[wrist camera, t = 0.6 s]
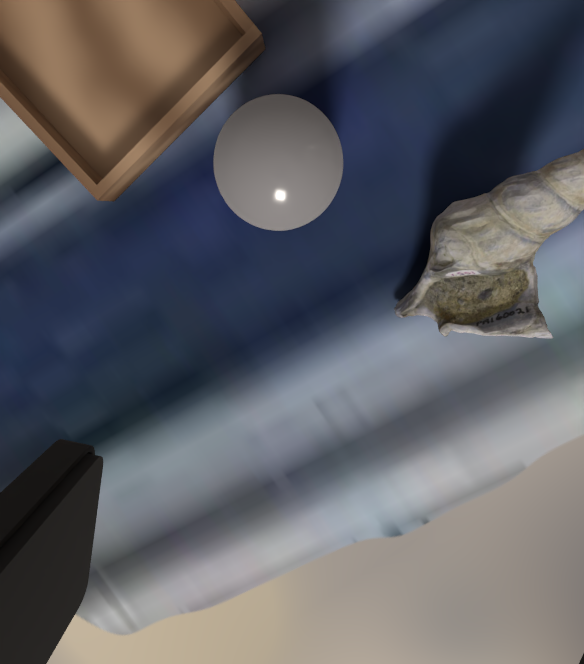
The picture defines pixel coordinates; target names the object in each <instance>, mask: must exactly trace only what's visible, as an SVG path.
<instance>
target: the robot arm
mask: <svg viewBox="0 0 584 664" xmlns="http://www.w3.org/2000/svg"><path fill="white" fill-rule="evenodd" d="M102 469H103V458H102V457H101V456H96V455H95V450H94V447H93V446H91V445H86V444H82V443H77V442H72V441H68V440H63V439H59V440H58V441H56V442H55V443H54V444H53V445H52V446H51V447H49V448H48V449H47V450H46V451H45V452H44V453H43V454H42V455H41V456H40V457H39V458H38V459H37V460H35V461H34V462H33V463H32V464H31V465H30V466H29V467H28V468H27V469H26V470H25V471H24V472H22V473H21V474H20V475H19V476H18V477H17V478H16V479H15V480H14V481H13V482H12V483H11V484H10V485H8V486H7V487H6V488H5V489H4V490H3V491H2V492H1V493H0V664H46V663H47V662H48V660H49V658H50V656H51V655H52V653H53V651H54V650H55V648H56V646H57V644H58V643H59V641H60V639H61V637H62V636H63V634H64V632H65V631H66V629H67V627H68V625H69V623H70V622H71V620H72V618H73V617H74V615H75V613H76V612H77V610H78V608H79V606H80V604H81V602H82V600H83V598H84V595H85V592H86V588H87V584H88V578H89V570H90V563H91V555H92V547H93V539H94V531H95V524H96V516H97V508H98V500H99V493H100V485H101V477H102ZM579 664H584V654H583V656H582V658H581V660H580V663H579Z"/></svg>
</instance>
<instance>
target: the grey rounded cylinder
mask: <svg viewBox="0 0 584 664" xmlns="http://www.w3.org/2000/svg"><path fill="white" fill-rule="evenodd" d="M342 171H343V154H342V148H341V144H340V140H339V138H338V135H337V133H336V131H335V129H334V127H333V125H332V124H331V122H330V121H329V120H328V118H327V117H326V116H325V115H324V114H323V113H322V112H321V111H320V110H319V109H318V108H316V107H315V106H314V105H312V104H311V103H309V102H307V101H305V100H303V99H301V98H298V97H295V96H291V95H284V94H272V95H265V96H262V97H258V98H255V99H253V100H251V101H249V102H247V103H246V104H244V105H242V106H241V107H240V108H239V109H237V110H236V111H235V112H234V113H233V114H232V115H231V116H230V117H229V119H228V120H227V121H226V123H225V124H224V126H223V128H222V130H221V132H220V134H219V136H218V139H217V142H216V146H215V151H214V173H215V179H216V182H217V186H218V188H219V190H220V193H221V195H222V197H223V198H224V200H225V202H226V203H227V204H228V206H229V207H230V208H231V209H232V210H233V211H234V212H235V213H236V214H237V215H238V216H239V217H240V218H242V219H243V220H245V221H246V222H248V223H250V224H252V225H254V226H256V227H259V228H263V229H267V230H274V231H283V230H291V229H294V228H298V227H301V226H303V225H305V224H307V223H309V222H311V221H312V220H314V219H315V218H317V217H318V216H319V215H320V214H321V213H322V212H323V211H324V210H325V209H326V208H327V207H328V206H329V204H330V203H331V202H332V200H333V198H334V196H335V195H336V193H337V190H338V188H339V185H340V181H341V178H342Z"/></svg>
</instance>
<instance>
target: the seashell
mask: <svg viewBox="0 0 584 664" xmlns="http://www.w3.org/2000/svg"><path fill="white" fill-rule="evenodd" d="M583 209H584V149H583V150H581V151H579V152H578V153H574V154H571V155H568V156H564V157H561V158H558V159H556V160H554V161H552V162H550V163H549V164H547V165H546V166H544V167H543V168H541V169H540V170H538V171H533V172H529V173H525V174H521V175H516V176H512V177H510V178H508V179H506V180H505V181H504V182H502V183H500V184H499V185H497V186H496V187H495V188H494V189H493V190H491V191H490V192H489V193H484V194H482V195H479V196H477V197H474V198H469V199H465V200H460V201H456V202H453V203H452V204H451V205H449V206H448V207H447V208H446V209H445V211H444V212H442V213H441V214H440V215H438V216H437V217H436V219H435V221H434V222H433V225H432V228H431V233H430V240H431V248H430V253H429V258H428V263H427V265H426V268H425V270H424V272H423V274H422V276H421V278H420V280H419V281H418V283H417V284H416V286H415V287H414V288H413V289H412V290H411V291H410V292H409V293H408V294H407V295H406V296H405V297H404V298H403V299H402V300H400V301H399V302H398V303H397V305H396V307H395V308H394V310H395V314H396V316H398V317H400V318H403V317H407V316H415V315H422V316H428V317H430V318H432V319H433V320H435V321H436V322H437V323H438V327H439V328H438V329H439V332H440V333H441V334H442V335H443V336H447V335H448V334H449V332H450V331H451V330H453V331H456V332H459V333H464V332H467V333H475V334H480V335H483V336H522V337H530V338H532V337H539V338H551V339H552V338H553V336H552V334H551V332H550V331H549V330H548V328H547V324H546V321H545V318H544V316H543V314H542V312H541V311H540V309H539V308H538V303H539V299H538V288H537V274H536V268H535V267H534V266H533V261H534V257H535V253H536V252H537V251H538V249H539V247H540V246H541V245H542V243H543V242H544V241H545V240H546V239H547V238H548V237H549V236H550V235H551V234H553V233H555V232H557V231H559V230H560V229H562V228H564V227H565V226H567V225H569V224H570V223H571V222H573V221H574V220H575V219H576V217H577V216H578V215H579V214H580V212H581V211H582V210H583Z"/></svg>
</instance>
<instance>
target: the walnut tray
mask: <svg viewBox="0 0 584 664" xmlns="http://www.w3.org/2000/svg"><path fill="white" fill-rule="evenodd" d="M264 50H265V45H264V41H263V37H262V33H261V32H260V31H259V30H258V28H257V27H256V26H255V25H254V23H253V22H252V21H251V20H250V18H249V17H248V16H247V15H246V14H245V12H244V11H243V10H242V9H241V7H240V6H239V5H238V4H237V2H236V1H235V0H0V97H1V98H2V99H3V100H4V102H5V103H6V104H7V105H8V106H9V107H10V108H11V109H12V110H13V111H14V112H15V113H16V114H17V115H18V116H19V118H20V119H21V120H22V121H23V122H24V123H25V124H26V125H27V126H28V127H29V128H30V129H31V130H32V131H33V132H34V133H35V135H36V136H37V137H38V138H39V139H40V140H41V141H42V142H43V143H44V144H45V145H46V146H47V147H48V148H49V149H50V151H51V152H52V153H53V154H54V155H55V156H56V157H57V158H58V159H59V160H60V161H61V162H62V163H63V164H64V165H65V166H66V168H67V169H68V170H69V171H70V172H71V173H72V174H73V175H74V176H75V177H76V178H77V179H78V180H79V181H80V182H81V184H82V185H83V186H84V187H85V188H86V189H87V190H88V191H89V192H90V193H91V194H92V195H93V196H94V197H95V198H96V199H97V200H100V201H115V200H116V199H117V198H118V197H119V196H120V195H121V194H122V193H123V192H124V191H125V190H126V189H127V188H128V187H129V186H130V185H131V184H132V183H133V182H134V181H135V180H136V179H137V178H138V177H139V176H140V175H141V174H142V173H143V172H144V171H145V170H146V169H147V168H148V167H149V166H150V165H151V164H152V163H153V162H154V161H155V160H156V159H157V158H158V157H159V156H160V155H161V154H162V153H163V152H164V151H165V150H166V149H167V148H168V147H169V146H170V145H171V144H172V143H173V142H174V141H175V140H176V139H177V138H178V137H179V136H180V135H181V134H182V133H183V132H184V131H185V130H186V129H187V128H188V127H189V126H190V125H191V124H192V123H193V122H194V121H195V120H196V119H197V118H198V117H199V116H200V115H201V114H202V113H203V112H204V111H205V110H206V109H207V107H208V106H209V105H210V104H211V103H212V102H213V101H214V100H215V99H216V98H217V97H218V96H219V95H220V94H221V93H222V92H223V91H224V90H225V89H226V88H227V87H228V86H229V85H230V84H231V83H232V82H233V81H234V80H235V79H236V78H237V77H238V76H239V75H240V74H241V73H242V72H243V71H244V70H245V69H246V68H247V67H248V66H249V65H250V64H251V63H252V62H253V61H254V60H255V59H256V58H257V57H258V56H259V55H260V54H261V53H262V52H263V51H264Z"/></svg>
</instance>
